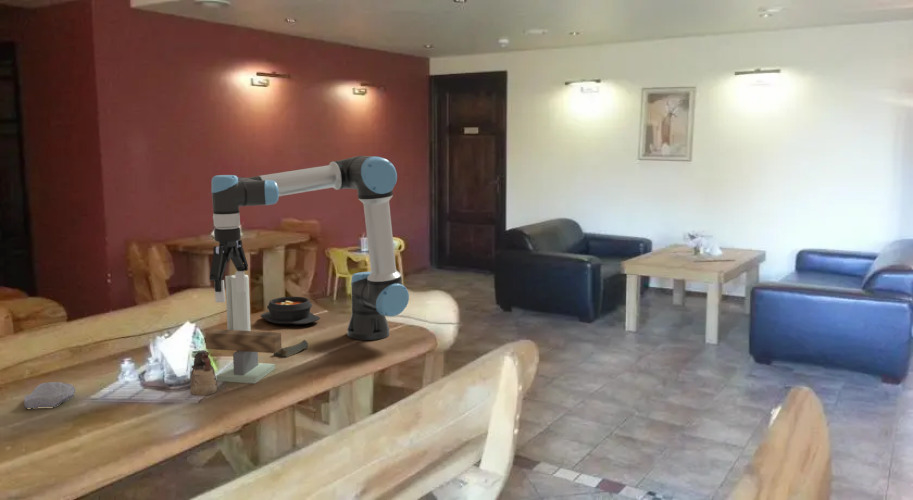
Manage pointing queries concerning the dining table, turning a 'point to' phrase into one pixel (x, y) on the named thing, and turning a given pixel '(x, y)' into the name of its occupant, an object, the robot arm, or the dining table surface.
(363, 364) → the dining table surface
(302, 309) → the casserole
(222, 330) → the beam
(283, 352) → the dark grey oblong piece
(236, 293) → the paper towel roll
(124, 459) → the dining table surface
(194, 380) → the figurine
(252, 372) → the stand
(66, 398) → the stone block
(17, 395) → the dining table surface
